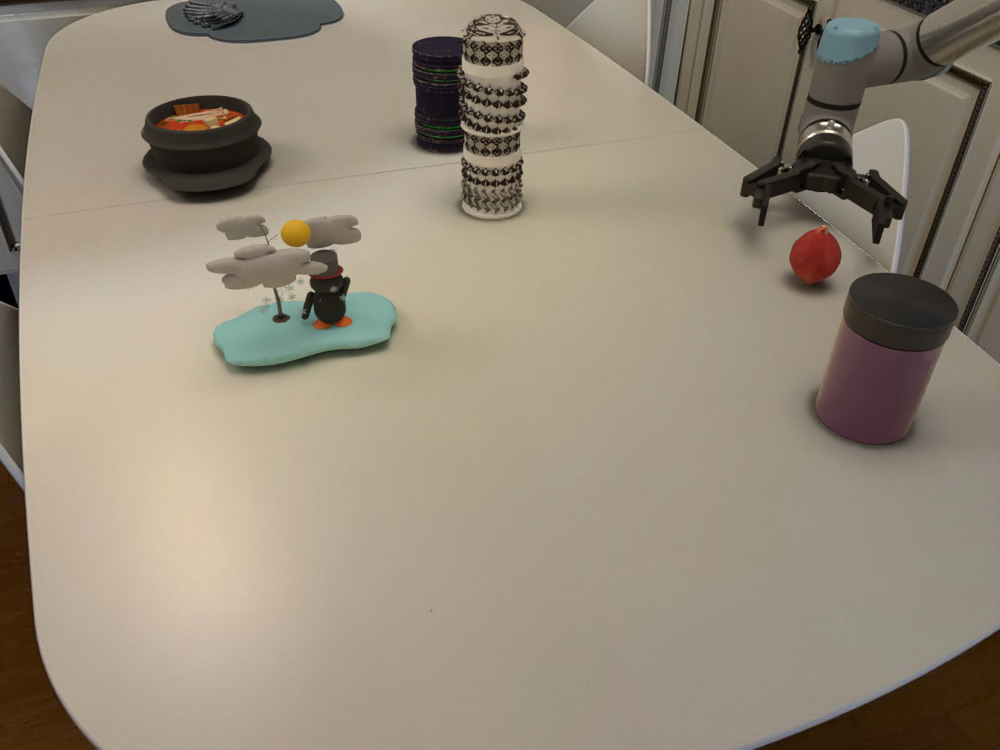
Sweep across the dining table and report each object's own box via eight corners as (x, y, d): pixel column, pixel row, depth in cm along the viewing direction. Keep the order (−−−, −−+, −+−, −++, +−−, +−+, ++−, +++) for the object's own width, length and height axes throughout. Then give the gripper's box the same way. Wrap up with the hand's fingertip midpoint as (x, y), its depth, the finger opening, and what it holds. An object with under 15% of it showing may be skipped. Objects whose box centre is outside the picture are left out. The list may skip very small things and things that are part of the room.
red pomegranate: (774, 274, 106) (788, 216, 101) (814, 267, 107) (830, 210, 102) (800, 299, 102) (816, 239, 97) (842, 291, 103) (860, 232, 98)
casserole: (146, 141, 136) (132, 89, 131) (265, 129, 140) (257, 78, 135) (144, 211, 117) (128, 153, 112) (282, 194, 121) (273, 138, 116)
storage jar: (439, 158, 132) (436, 60, 123) (403, 138, 138) (398, 43, 129) (489, 143, 137) (490, 47, 128) (453, 124, 143) (451, 32, 134)
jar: (907, 396, 87) (950, 288, 79) (912, 453, 81) (960, 341, 73) (816, 378, 89) (848, 271, 81) (813, 433, 83) (849, 322, 75)
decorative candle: (501, 185, 125) (504, 5, 109) (537, 210, 119) (545, 23, 103) (447, 200, 121) (442, 15, 106) (481, 226, 115) (481, 34, 99)
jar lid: (945, 304, 81) (953, 282, 79) (954, 359, 74) (964, 336, 72) (842, 286, 83) (849, 265, 81) (842, 339, 76) (849, 316, 74)
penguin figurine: (390, 299, 100) (381, 179, 91) (408, 351, 92) (400, 226, 83) (214, 324, 96) (185, 201, 86) (216, 381, 88) (185, 252, 78)
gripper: (738, 119, 121) (721, 181, 105) (927, 143, 115) (940, 212, 99) (729, 169, 125) (711, 236, 109) (910, 195, 119) (919, 269, 103)
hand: (820, 225), depth 104 cm, fingers open, 13 cm apart
